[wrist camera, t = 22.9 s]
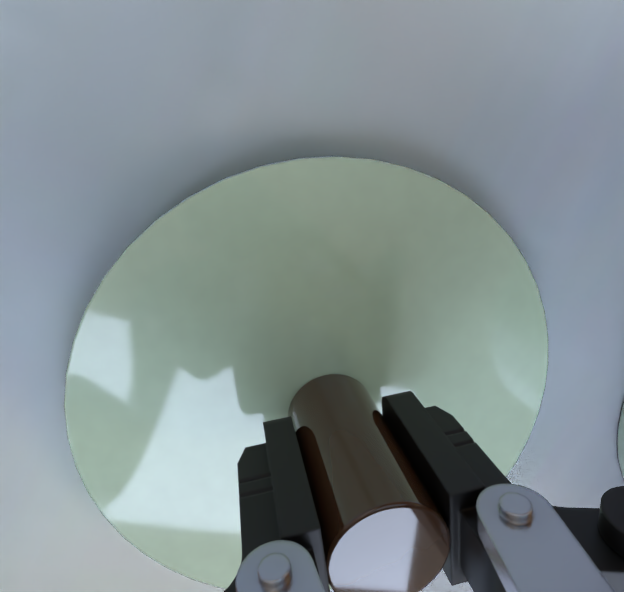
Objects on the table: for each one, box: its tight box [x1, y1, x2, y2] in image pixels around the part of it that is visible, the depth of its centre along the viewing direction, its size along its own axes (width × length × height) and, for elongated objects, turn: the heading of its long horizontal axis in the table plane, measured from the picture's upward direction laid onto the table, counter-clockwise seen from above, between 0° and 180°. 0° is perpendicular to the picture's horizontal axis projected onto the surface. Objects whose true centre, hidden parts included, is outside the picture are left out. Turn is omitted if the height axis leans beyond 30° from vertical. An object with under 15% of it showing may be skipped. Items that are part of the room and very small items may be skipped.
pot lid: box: [64, 156, 548, 592], centre depth 11 cm, size 14×14×6 cm
